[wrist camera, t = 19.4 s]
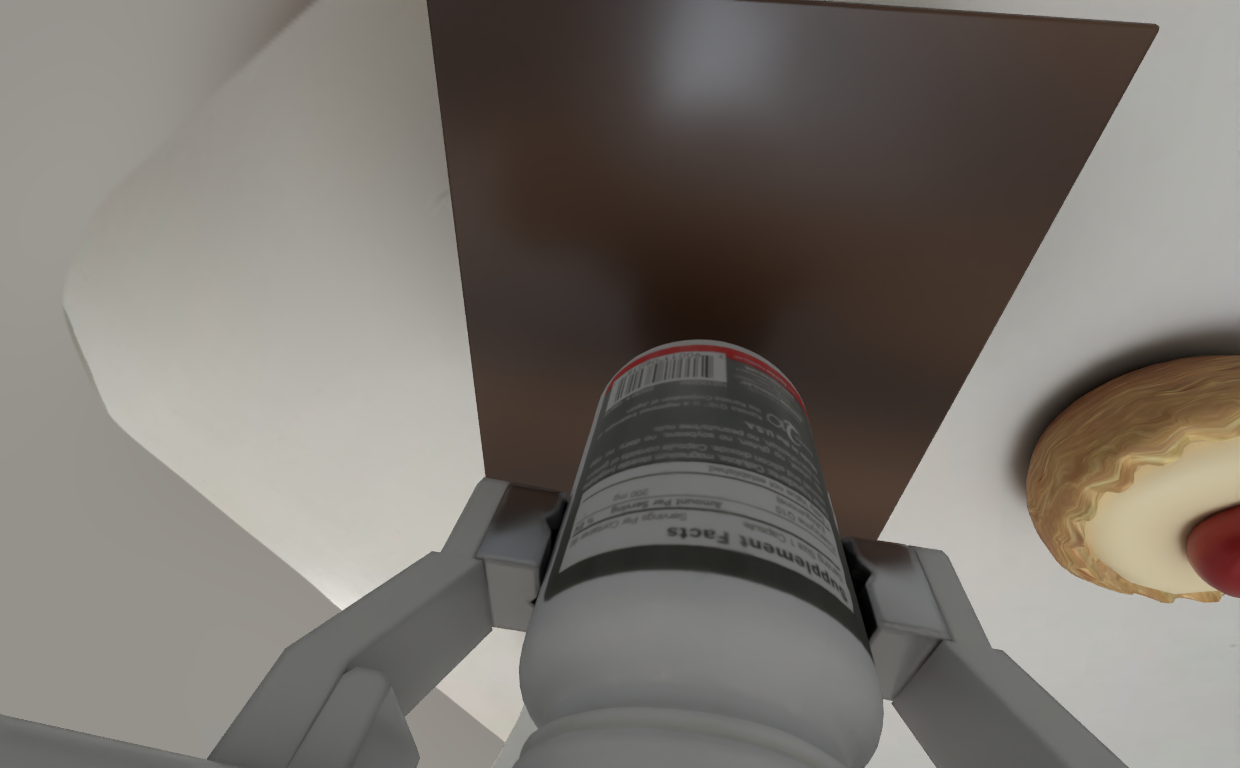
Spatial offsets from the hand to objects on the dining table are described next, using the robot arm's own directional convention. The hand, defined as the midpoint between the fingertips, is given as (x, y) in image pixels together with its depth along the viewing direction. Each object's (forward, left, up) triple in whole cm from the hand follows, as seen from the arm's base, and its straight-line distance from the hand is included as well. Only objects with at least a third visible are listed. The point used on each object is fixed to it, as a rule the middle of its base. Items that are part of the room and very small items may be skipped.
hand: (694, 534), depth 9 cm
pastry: (+7, +22, -16) cm, 28 cm away
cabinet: (0, 0, -16) cm, 16 cm away
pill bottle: (0, 0, -4) cm, 4 cm away
